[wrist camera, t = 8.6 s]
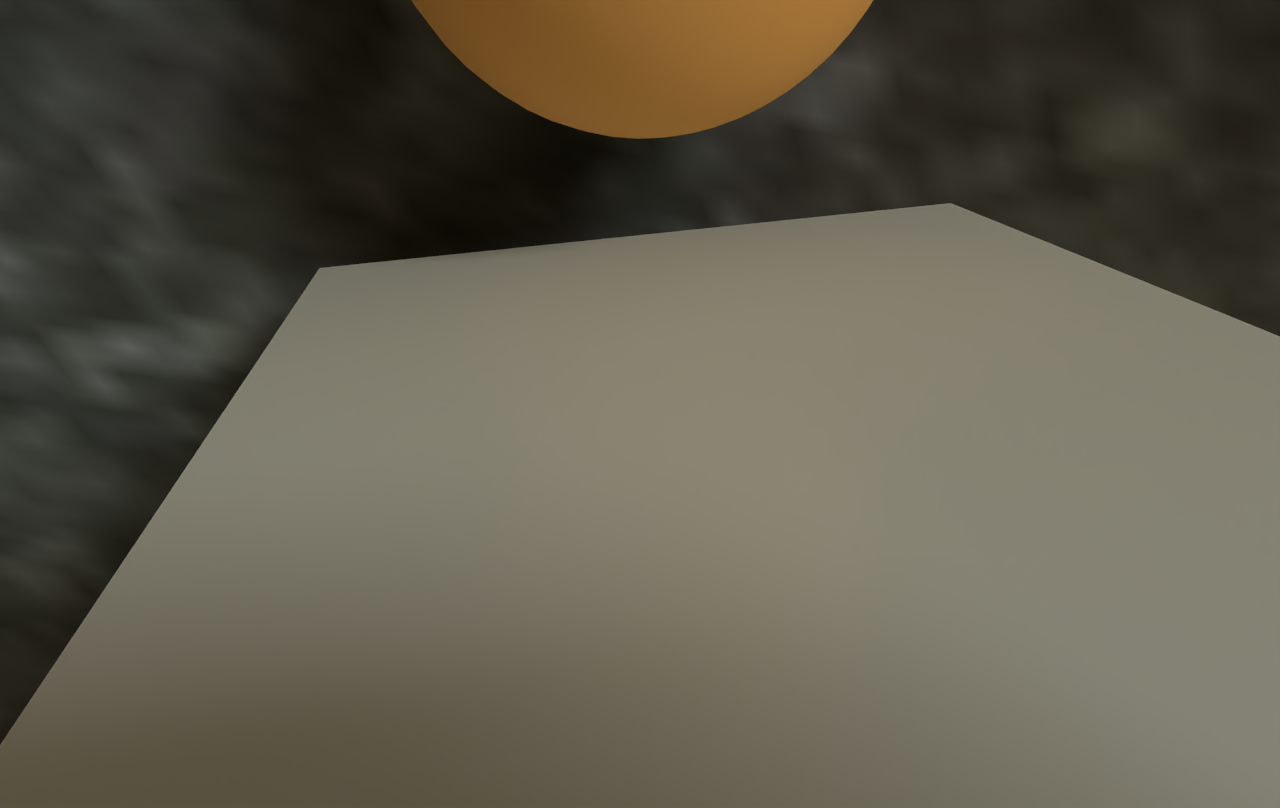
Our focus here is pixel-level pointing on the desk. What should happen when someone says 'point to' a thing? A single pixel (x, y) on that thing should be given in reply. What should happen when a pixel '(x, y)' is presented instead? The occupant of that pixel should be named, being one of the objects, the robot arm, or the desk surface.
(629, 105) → the ball
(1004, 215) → the desk surface
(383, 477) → the plain beige cube
